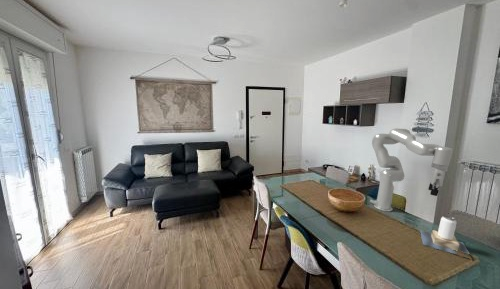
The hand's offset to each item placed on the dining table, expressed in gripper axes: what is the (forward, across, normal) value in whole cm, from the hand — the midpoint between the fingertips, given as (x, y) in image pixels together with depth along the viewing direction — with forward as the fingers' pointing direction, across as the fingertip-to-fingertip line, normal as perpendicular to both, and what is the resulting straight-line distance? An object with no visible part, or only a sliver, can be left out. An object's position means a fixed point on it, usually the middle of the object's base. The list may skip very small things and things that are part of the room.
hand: (432, 192), depth 130 cm
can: (+21, -13, -8) cm, 26 cm away
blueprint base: (+25, -12, -8) cm, 30 cm away
